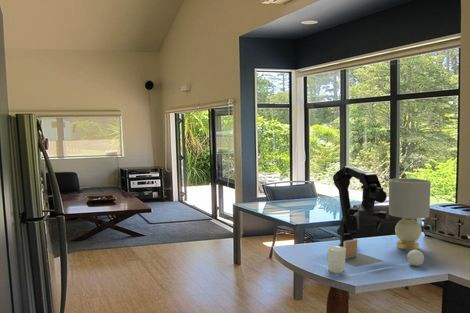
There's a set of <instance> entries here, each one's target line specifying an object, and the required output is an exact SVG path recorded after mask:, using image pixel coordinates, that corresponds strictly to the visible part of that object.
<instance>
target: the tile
mask: <svg viewBox="0 0 470 313" xmlns="http://www.w3.org/2000/svg"><path fill="white" fill-rule="evenodd" d="M353 239H354V240H347V241H344V242H343V247H344V248H346V258H348V257H354V256H357V253H358V239H356V238H353Z"/></svg>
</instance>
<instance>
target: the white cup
mask: <svg viewBox="0 0 470 313" xmlns="http://www.w3.org/2000/svg"><path fill="white" fill-rule="evenodd" d="M345 258H346V248H344V247H342V246H339V245H337V246H336V245H332V246H328V247H327V264H328V272H329V273H334V274H342V273H344V272H345V266H346V263H345Z"/></svg>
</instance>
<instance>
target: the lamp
mask: <svg viewBox="0 0 470 313" xmlns="http://www.w3.org/2000/svg"><path fill="white" fill-rule="evenodd" d="M388 183H389V185H388V186H389V187H388V190H389V192H388V194H389V195H388V213H389V216H392V217H395V218H396V217H397V218H402V219H400V220H398V222H396V225H395V227H394V231H395V235H396V237H397V238H398V239H399V240H397V241H396V247H397V249H401V250H406V251H411V250H419V248H420V243H419V242H418V240H419V239H420V237H421V236H422V227H421V225H420V223H419V222H418V221H417V220H416V219H418V220H419V219H421V220H422V219H427V218H429V217H430V207H431V185H432V184H431V181H430V180H428V179H423V178H422V179H419V178H409V177H408V178H402V177H401V178H400V177H399V178H397V177H396V178H390V179H389V182H388Z"/></svg>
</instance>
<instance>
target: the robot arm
mask: <svg viewBox="0 0 470 313" xmlns="http://www.w3.org/2000/svg"><path fill="white" fill-rule="evenodd" d="M352 178H355V179H357V180H358V182H360V184H361V186H359V187H360V189H362V201H361V204H360V206H359V207H354V206H353V207H351V200H350V194H349V193H350V192H349V186H350V185H351V179H352ZM332 180H333V184H334V186H335V187H336V189H337V190H338V193H339V194H338V196H339V201H340V209H341V216H342V217H341V220H340V222H339V224H340V226H339V227H338V229H337V231H336V233H337V235H338V236H340V241H339V242H340V243H339V244H338V246H339V247H343V242H344V241H347V240H354V239H355V238H354V236H357V233H358V230H359V227H360V217H365V218H368V217H370V216H372V217H373V216H374V217H377V218H376V225H375V232H376V233H377V232H378V231H379V228H380V226H381V225H382V222H383V221H384V220H387V219H389V216H390V215H389V211H387V210H386V211H384V210H380V211H375V210H376V209H375V202H377V203H380V204H381V203H384V202H386V201H387V196H388V195H387V193H386V192H385V190H384V188H383V187H382V184H381V182H380V179H379V176H378V175H377V173H375V172H365V171H363V170H361V169H358V168H356V167H354V166H353V165H345V166H343V167H342V168H341V169H340V170H338V171H336V172H334V175H332Z"/></svg>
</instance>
